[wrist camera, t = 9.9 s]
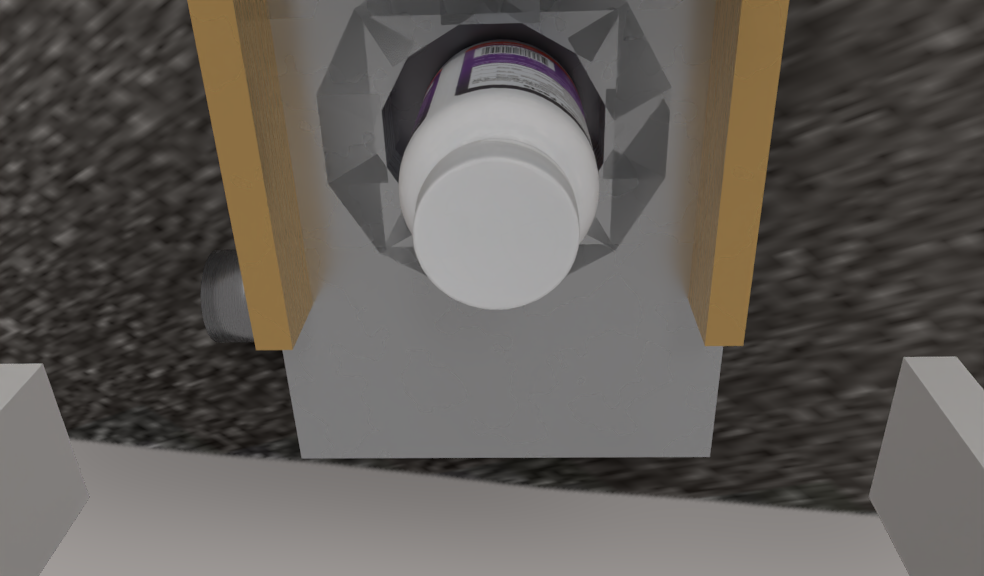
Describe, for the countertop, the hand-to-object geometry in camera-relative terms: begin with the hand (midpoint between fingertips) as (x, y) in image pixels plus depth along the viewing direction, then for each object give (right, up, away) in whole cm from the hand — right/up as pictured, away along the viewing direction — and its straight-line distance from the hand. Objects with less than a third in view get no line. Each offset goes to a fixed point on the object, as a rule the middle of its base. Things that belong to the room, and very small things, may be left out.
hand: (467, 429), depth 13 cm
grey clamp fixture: (-1, +7, +19) cm, 20 cm away
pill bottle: (+1, +8, +15) cm, 17 cm away
